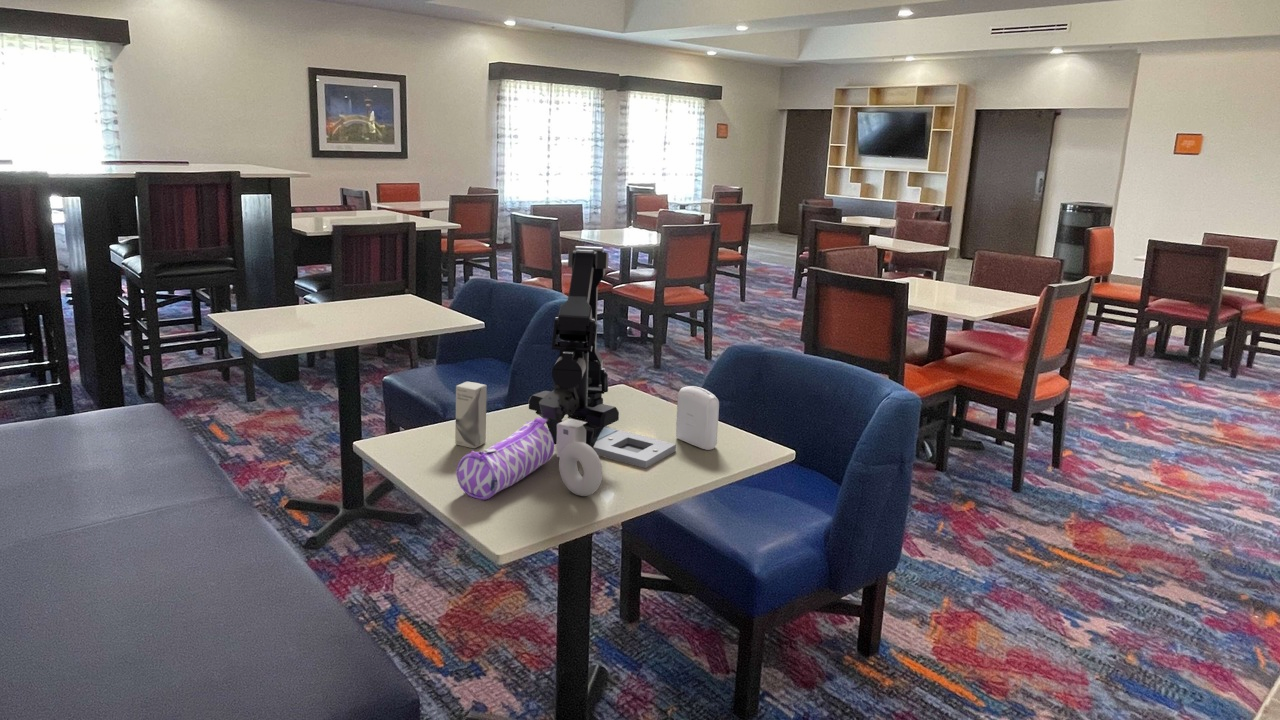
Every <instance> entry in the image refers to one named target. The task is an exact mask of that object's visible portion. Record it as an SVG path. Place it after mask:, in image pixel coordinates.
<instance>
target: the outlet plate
mask: <svg viewBox="0 0 1280 720" xmlns="http://www.w3.org/2000/svg"><path fill="white" fill-rule="evenodd" d="M619 430H620V429H619ZM593 449H594V451H595V452H596V453H597V455H598V457H604V458H608V459H611V460H614V461H618V462H621V463H625V464H629V465H633V466H636V467H640V468H642V469H643V468H644V469H647V468H649V467H650V466H652V465H654V464H655V463H658V462H660V461H661V460H662V459H665V458H667V456H670V455H671V454H674V453H675V452H676V451H677V444H676V443H672V442H669V441H665V440H660V439H658V438H657V439H656V438H652V437H648V436H645V435H641V434H636V433H632V432H628V431H625V430H620V431H618V432H615V433H613V434H611V435H609V436H607V437H605V438H603V439H601V440H599V441H597V442H596V443H595V445H594V447H593Z"/></svg>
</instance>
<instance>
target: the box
mask: <svg viewBox="0 0 1280 720" xmlns="http://www.w3.org/2000/svg"><path fill="white" fill-rule="evenodd" d="M487 389H488V387H487V384H483V383H479V382H473V381H464V382H462V383H460V384H457V385H455V431H454V432H455V434H454V435H455V437H454V438H455V442H454V444H455V445H458V446H461V447H466V448H471V449H476V448H478V447H480V446H482V445H484V444H485V443H486V438H487V437H486V436H487V435H486V434H487V433H486V432H487Z"/></svg>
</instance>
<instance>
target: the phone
mask: <svg viewBox="0 0 1280 720" xmlns="http://www.w3.org/2000/svg"><path fill="white" fill-rule="evenodd" d="M618 431H620V429H616V428H613V427H607V426H605V427H604V428H603V429H602V431H601V433H600V435H599V436H598V439H597V441H599V440H601V439H603V438H605V437H607V436H609V435H611V434H613V433H615V432H618ZM597 441H596V442H597Z"/></svg>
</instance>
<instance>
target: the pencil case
mask: <svg viewBox="0 0 1280 720" xmlns="http://www.w3.org/2000/svg"><path fill="white" fill-rule="evenodd" d="M547 421H548V420H547V419H543V418H542V417H535V419H534V420H530V421H527V422H525V423H523V425H522V426H521V427H520V428H518V429H517V430H515V431H514V432H513V433H512V434H511V435H509V436H507V437H506V438H504V439H502V440H501V441H498V442H496V443H494V444H493V445H491V446H490V447H488V448H485V449H482V450H481V451H474V450H472V451H471V452H469V453H467V454H465V455H463V457H462V458H461V459H460V460H459V462H458V465H457V467H456V478H457V479H456V480H457V483H458V485H459V487H460V489H461V490H462V491H463V493H465V494H467V496H469V497H471V498H474V499H478V500H483V501H486V500H489V499H491V498H492V497H493V496H494V495H496V494H497V493H499V492H501V491H503V490H505V489H508V488H509V487H512V486H513V485H514V484H516V483H518V482H519V481H521V480H523V479H524V478H525V477H527V476H529V475H530V474H531V473H533V472H535V471H536V470H537V469H539V468H540V467H541V466H544V464H546V463H547V462H549V461H550V460H551V459H552V457H553V454H554V450H555V444H554V441H553V437H552V435H551V433H550V431H549V429H548V427H547V426H545V425H546V422H547Z"/></svg>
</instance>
